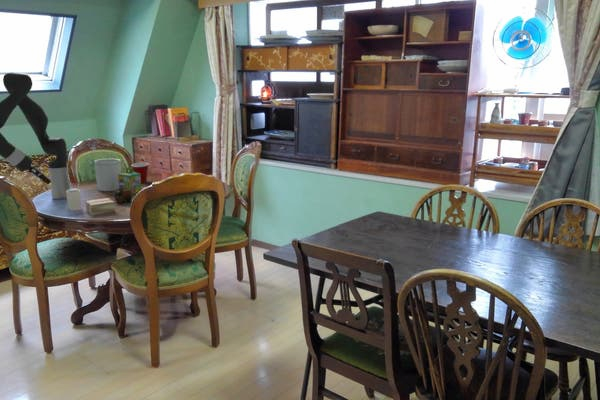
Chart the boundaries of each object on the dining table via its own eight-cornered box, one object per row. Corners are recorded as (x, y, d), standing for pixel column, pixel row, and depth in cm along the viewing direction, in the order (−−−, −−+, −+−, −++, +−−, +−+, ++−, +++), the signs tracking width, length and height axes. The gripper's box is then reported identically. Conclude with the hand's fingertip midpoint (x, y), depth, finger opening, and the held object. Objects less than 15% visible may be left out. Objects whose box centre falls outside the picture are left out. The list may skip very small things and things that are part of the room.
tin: (68, 208, 255) (65, 189, 253) (79, 207, 258) (77, 187, 256) (70, 211, 251) (68, 191, 248) (82, 209, 254) (80, 189, 251)
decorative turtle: (122, 205, 261) (120, 190, 259) (109, 203, 271) (106, 188, 269) (139, 201, 268) (137, 187, 266) (125, 199, 278) (123, 184, 276)
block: (86, 210, 252) (85, 200, 250) (109, 207, 258) (108, 197, 256) (91, 215, 243) (90, 205, 242) (115, 211, 249) (114, 201, 248)
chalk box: (118, 194, 288) (116, 168, 284) (129, 190, 296) (127, 166, 292) (131, 195, 284) (129, 169, 281) (142, 192, 293) (140, 167, 289)
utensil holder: (128, 188, 303) (125, 159, 299) (107, 192, 291) (104, 162, 287) (112, 185, 311) (110, 157, 307) (91, 189, 299) (88, 160, 295)
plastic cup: (129, 183, 317) (127, 164, 314) (139, 180, 327) (137, 162, 324) (143, 184, 314) (142, 165, 311) (153, 181, 324) (152, 162, 321)
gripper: (27, 155, 231) (56, 177, 240) (22, 152, 242) (50, 174, 251) (15, 167, 228) (45, 189, 237) (10, 164, 239) (39, 185, 249)
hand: (47, 181), depth 244 cm, fingers open, 8 cm apart
